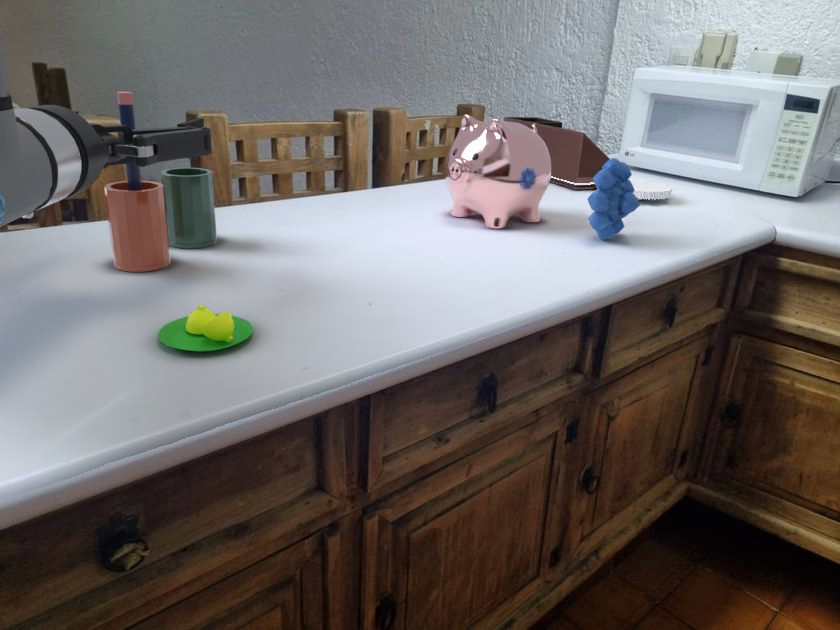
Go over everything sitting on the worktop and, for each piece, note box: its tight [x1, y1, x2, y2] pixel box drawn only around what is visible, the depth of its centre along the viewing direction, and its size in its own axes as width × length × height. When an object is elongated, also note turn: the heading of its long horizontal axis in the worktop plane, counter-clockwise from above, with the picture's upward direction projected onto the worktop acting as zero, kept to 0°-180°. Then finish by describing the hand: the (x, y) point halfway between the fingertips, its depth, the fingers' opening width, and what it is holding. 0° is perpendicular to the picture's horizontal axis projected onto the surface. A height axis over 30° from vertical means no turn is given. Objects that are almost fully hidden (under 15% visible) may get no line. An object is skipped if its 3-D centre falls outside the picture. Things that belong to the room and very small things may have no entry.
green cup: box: [160, 167, 217, 250], centre depth 83 cm, size 6×6×9 cm
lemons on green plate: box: [157, 304, 254, 353], centre depth 58 cm, size 8×8×3 cm
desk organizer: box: [503, 116, 611, 191], centre depth 144 cm, size 10×29×11 cm, turn 26°
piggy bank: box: [444, 113, 552, 230], centre depth 103 cm, size 15×18×16 cm
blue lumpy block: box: [587, 157, 640, 240], centre depth 95 cm, size 12×7×12 cm, turn 140°
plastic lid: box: [629, 177, 673, 201], centre depth 129 cm, size 14×14×2 cm
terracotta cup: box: [103, 180, 172, 273], centre depth 74 cm, size 6×6×9 cm
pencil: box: [116, 91, 142, 190], centre depth 72 cm, size 1×1×18 cm
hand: (139, 127), depth 73 cm, fingers open, 13 cm apart
